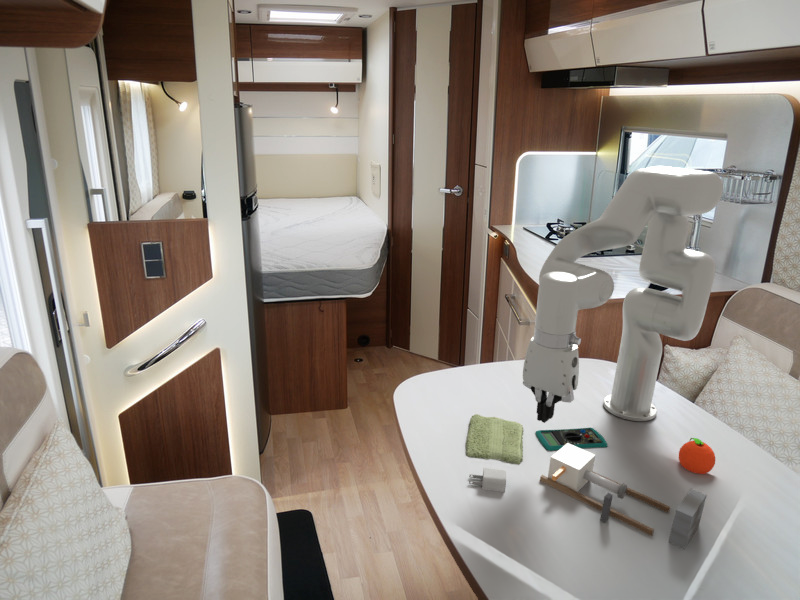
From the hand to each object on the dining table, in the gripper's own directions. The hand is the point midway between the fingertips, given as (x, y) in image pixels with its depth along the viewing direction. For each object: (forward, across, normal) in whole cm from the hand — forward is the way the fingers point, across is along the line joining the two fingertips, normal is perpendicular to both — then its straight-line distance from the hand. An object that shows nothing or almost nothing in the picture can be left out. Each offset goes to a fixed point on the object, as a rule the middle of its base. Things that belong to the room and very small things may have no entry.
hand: (544, 418), depth 120 cm
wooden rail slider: (+12, -16, +2) cm, 20 cm away
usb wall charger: (+12, +4, +14) cm, 19 cm away
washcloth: (+12, +12, -1) cm, 17 cm away
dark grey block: (+10, -18, +8) cm, 22 cm away
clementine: (+13, -24, -23) cm, 35 cm away
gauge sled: (+10, -11, +3) cm, 16 cm away
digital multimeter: (+13, -1, -12) cm, 18 cm away
